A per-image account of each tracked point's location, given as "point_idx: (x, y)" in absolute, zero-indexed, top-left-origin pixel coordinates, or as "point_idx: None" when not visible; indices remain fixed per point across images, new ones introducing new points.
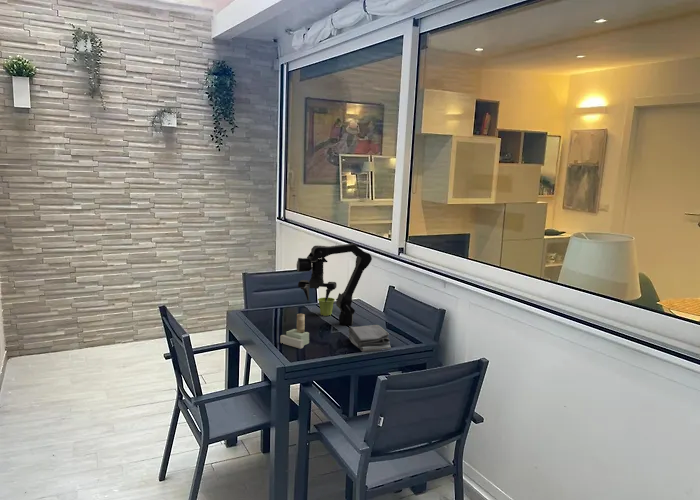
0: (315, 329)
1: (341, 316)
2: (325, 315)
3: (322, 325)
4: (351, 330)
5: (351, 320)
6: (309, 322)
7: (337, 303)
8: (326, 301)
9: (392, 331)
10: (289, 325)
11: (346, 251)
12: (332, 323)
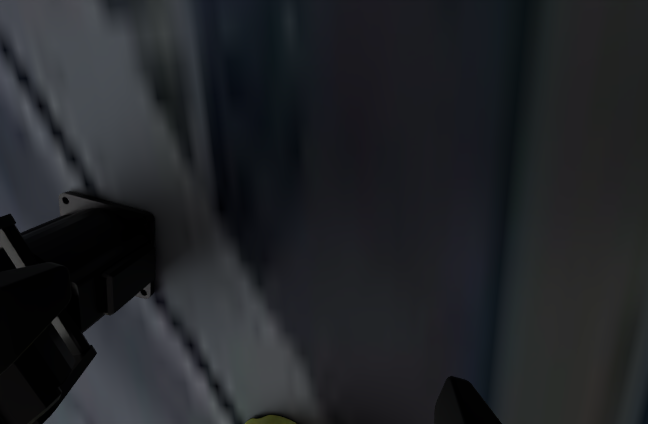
0: (340, 81)
1: (96, 261)
2: (278, 418)
3: (284, 204)
4: None
5: (39, 226)
6: (397, 285)
7: (15, 366)
8: (46, 288)
9: None
10: (604, 203)
11: None
12: (212, 255)
